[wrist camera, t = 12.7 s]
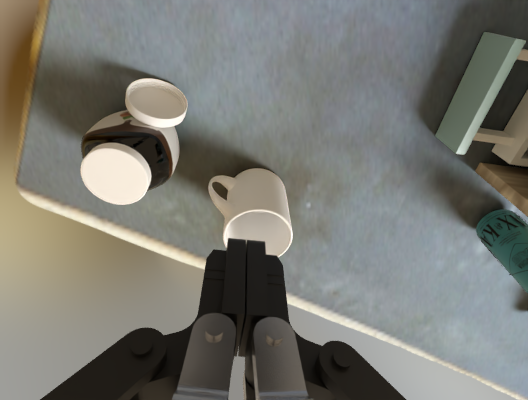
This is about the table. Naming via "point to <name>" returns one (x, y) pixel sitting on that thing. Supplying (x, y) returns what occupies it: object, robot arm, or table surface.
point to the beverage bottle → (507, 242)
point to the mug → (255, 209)
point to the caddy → (487, 102)
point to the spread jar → (134, 143)
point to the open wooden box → (507, 183)
